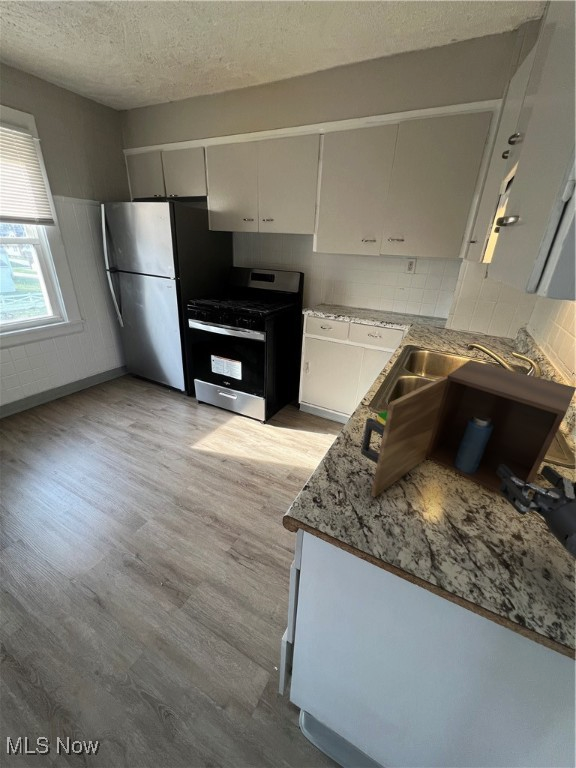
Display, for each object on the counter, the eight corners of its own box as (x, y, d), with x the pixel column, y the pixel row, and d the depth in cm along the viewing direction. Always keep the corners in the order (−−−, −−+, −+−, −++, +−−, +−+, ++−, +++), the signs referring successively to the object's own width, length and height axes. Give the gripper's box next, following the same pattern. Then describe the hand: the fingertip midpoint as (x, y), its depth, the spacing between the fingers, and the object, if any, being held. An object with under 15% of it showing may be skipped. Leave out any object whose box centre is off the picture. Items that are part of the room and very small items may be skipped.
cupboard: (521, 505, 69) (566, 411, 59) (424, 457, 83) (447, 375, 73) (535, 472, 80) (576, 387, 69) (447, 434, 94) (470, 359, 83)
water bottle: (479, 467, 79) (498, 418, 73) (472, 476, 76) (492, 426, 69) (458, 457, 82) (474, 409, 76) (450, 466, 79) (467, 417, 73)
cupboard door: (350, 480, 74) (365, 391, 64) (402, 446, 87) (420, 368, 77) (374, 497, 69) (394, 404, 59) (424, 459, 82) (448, 377, 72)
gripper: (658, 526, 44) (566, 453, 59) (558, 522, 44) (491, 451, 59) (631, 561, 47) (550, 484, 62) (537, 558, 47) (479, 481, 62)
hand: (521, 468), depth 60 cm, fingers open, 8 cm apart
